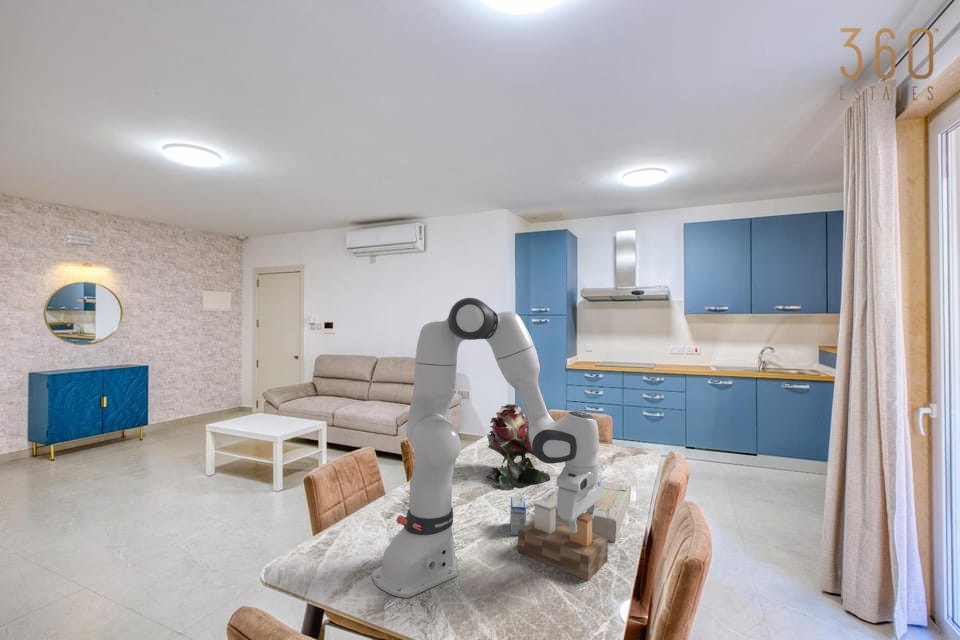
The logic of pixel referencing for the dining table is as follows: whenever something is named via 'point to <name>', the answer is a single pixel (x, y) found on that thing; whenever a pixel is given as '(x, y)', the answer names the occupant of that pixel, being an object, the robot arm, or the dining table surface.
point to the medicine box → (517, 514)
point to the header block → (563, 550)
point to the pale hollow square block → (605, 510)
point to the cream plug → (545, 516)
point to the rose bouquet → (513, 450)
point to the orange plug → (583, 530)
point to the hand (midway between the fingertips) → (582, 525)
